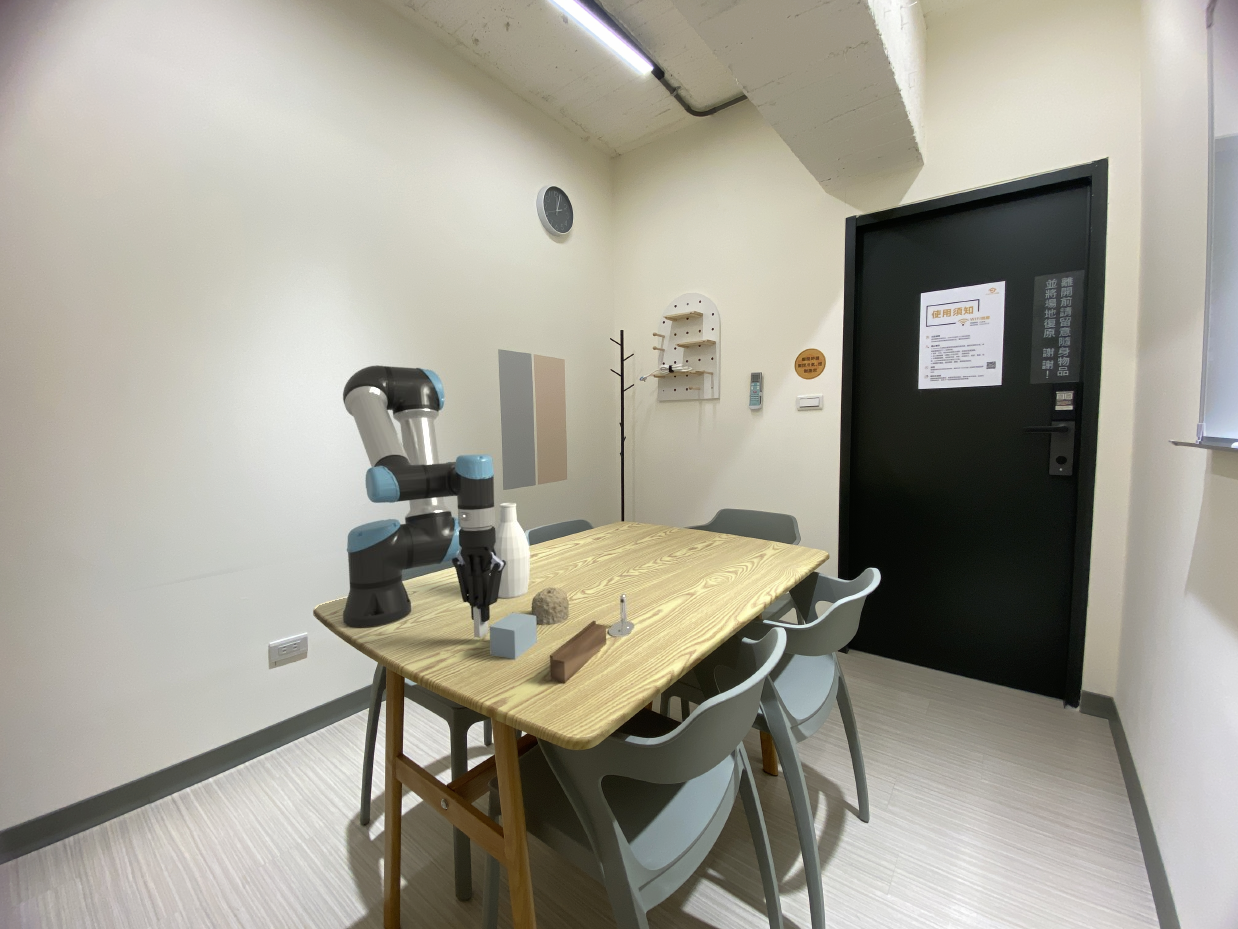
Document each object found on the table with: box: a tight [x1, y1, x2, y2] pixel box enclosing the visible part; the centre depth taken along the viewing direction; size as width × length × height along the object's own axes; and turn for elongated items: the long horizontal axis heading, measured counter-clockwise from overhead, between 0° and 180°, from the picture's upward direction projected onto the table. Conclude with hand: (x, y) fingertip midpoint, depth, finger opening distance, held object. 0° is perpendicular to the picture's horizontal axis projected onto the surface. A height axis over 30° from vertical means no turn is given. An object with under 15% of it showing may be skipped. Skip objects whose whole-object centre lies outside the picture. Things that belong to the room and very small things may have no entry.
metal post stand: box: [608, 593, 635, 638], centre depth 106 cm, size 8×5×8 cm
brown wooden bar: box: [549, 620, 607, 684], centre depth 92 cm, size 3×17×5 cm, turn 156°
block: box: [488, 612, 538, 660], centre depth 98 cm, size 6×8×6 cm
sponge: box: [530, 586, 570, 626], centre depth 114 cm, size 9×10×10 cm
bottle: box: [491, 502, 531, 599], centre depth 132 cm, size 11×11×25 cm
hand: (481, 635), depth 101 cm, fingers closed
